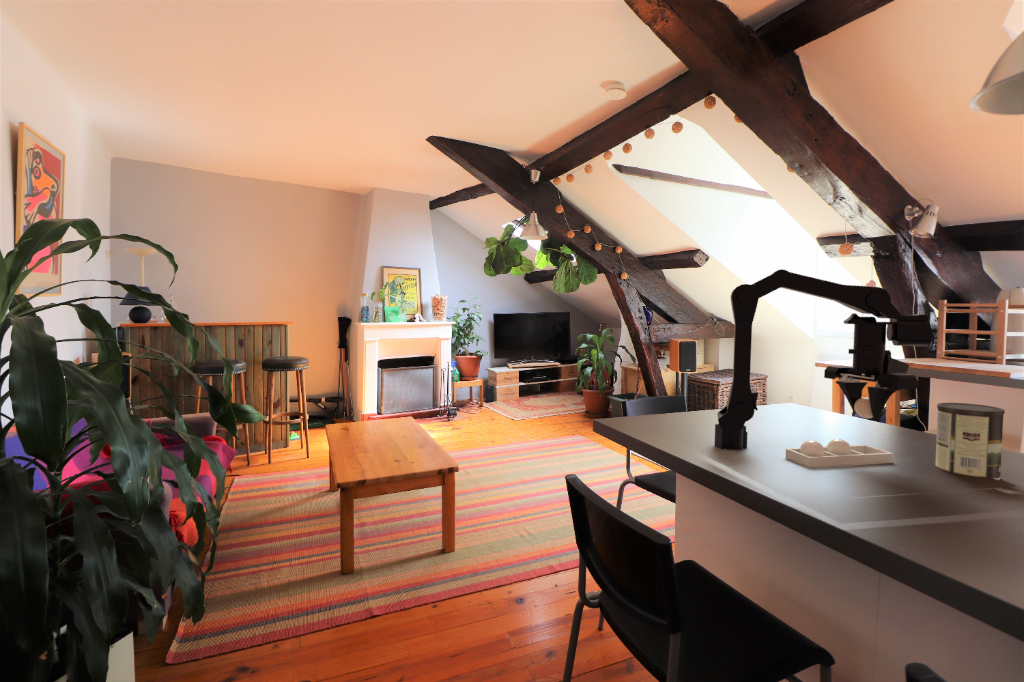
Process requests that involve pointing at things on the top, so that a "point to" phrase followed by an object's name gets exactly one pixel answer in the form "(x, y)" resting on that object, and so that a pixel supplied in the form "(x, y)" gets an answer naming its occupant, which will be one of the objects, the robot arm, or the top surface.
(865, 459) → the carton
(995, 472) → the coffee can
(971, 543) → the top surface
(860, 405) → the brown egg
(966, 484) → the top surface
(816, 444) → the cream egg
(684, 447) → the top surface
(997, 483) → the top surface
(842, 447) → the cream egg
